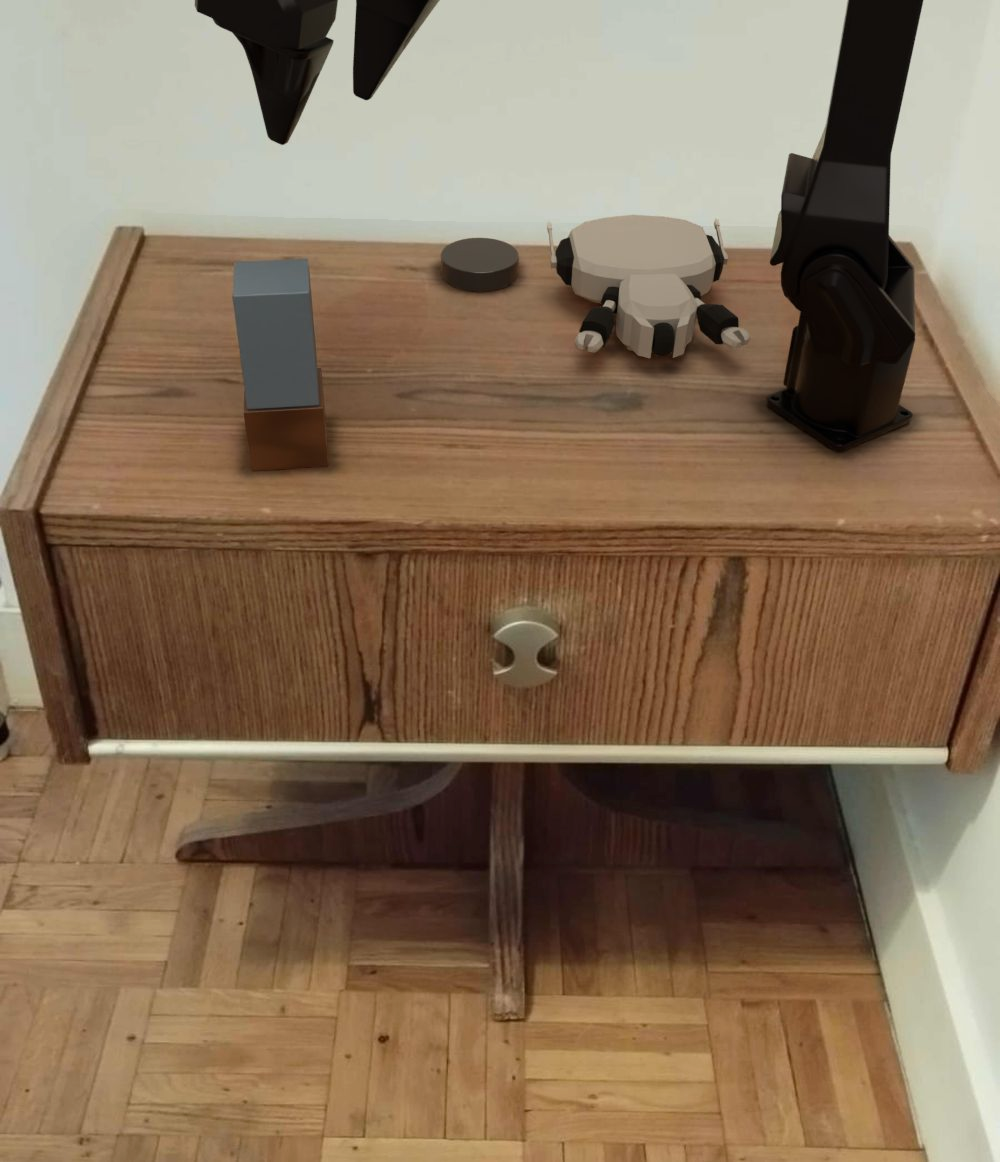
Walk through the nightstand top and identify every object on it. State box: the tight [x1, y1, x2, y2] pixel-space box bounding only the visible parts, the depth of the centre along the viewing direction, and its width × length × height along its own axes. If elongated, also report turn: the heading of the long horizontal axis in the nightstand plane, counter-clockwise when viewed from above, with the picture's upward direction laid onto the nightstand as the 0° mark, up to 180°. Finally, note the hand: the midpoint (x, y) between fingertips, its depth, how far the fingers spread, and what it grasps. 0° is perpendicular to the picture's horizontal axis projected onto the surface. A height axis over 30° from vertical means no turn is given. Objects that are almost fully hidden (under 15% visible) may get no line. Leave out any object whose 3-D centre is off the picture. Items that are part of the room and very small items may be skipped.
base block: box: [243, 367, 329, 472], centre depth 75 cm, size 4×4×4 cm
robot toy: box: [546, 214, 751, 359], centre depth 87 cm, size 12×4×15 cm
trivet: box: [440, 237, 520, 293], centre depth 93 cm, size 6×6×2 cm
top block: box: [231, 258, 319, 409], centre depth 71 cm, size 4×4×7 cm
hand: (321, 118), depth 75 cm, fingers open, 9 cm apart
